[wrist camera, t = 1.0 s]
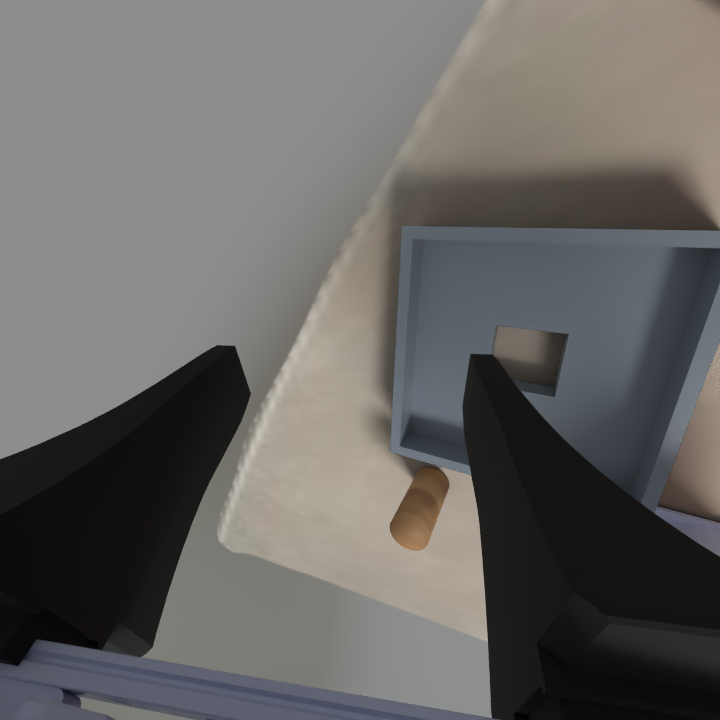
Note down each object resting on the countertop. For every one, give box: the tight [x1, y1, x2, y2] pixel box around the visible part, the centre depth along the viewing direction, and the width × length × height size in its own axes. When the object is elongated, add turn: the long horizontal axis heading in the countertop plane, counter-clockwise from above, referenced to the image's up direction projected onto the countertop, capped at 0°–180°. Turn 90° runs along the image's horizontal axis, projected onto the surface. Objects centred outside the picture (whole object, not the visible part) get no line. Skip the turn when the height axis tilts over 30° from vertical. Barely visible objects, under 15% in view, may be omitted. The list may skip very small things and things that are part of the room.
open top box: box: [390, 226, 720, 513], centre depth 25 cm, size 18×18×4 cm
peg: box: [390, 467, 449, 551], centre depth 31 cm, size 3×3×7 cm
